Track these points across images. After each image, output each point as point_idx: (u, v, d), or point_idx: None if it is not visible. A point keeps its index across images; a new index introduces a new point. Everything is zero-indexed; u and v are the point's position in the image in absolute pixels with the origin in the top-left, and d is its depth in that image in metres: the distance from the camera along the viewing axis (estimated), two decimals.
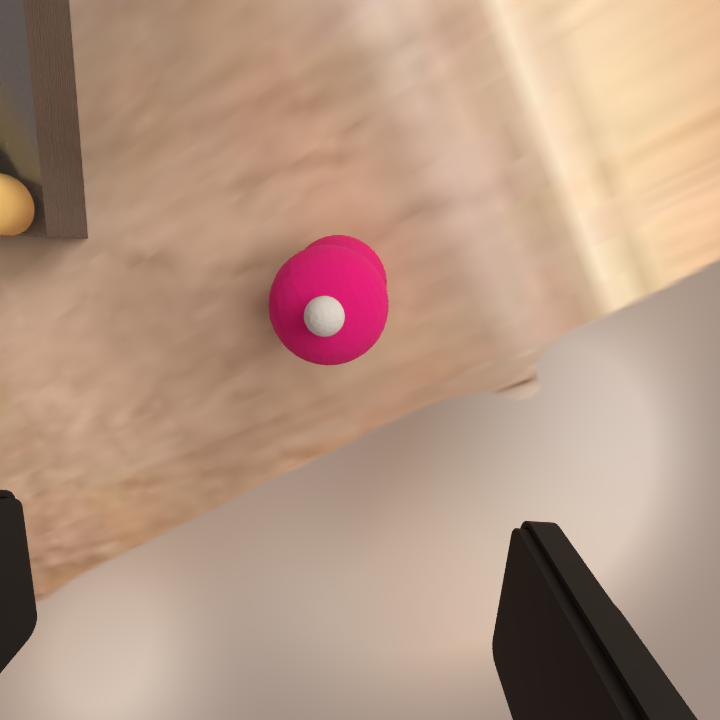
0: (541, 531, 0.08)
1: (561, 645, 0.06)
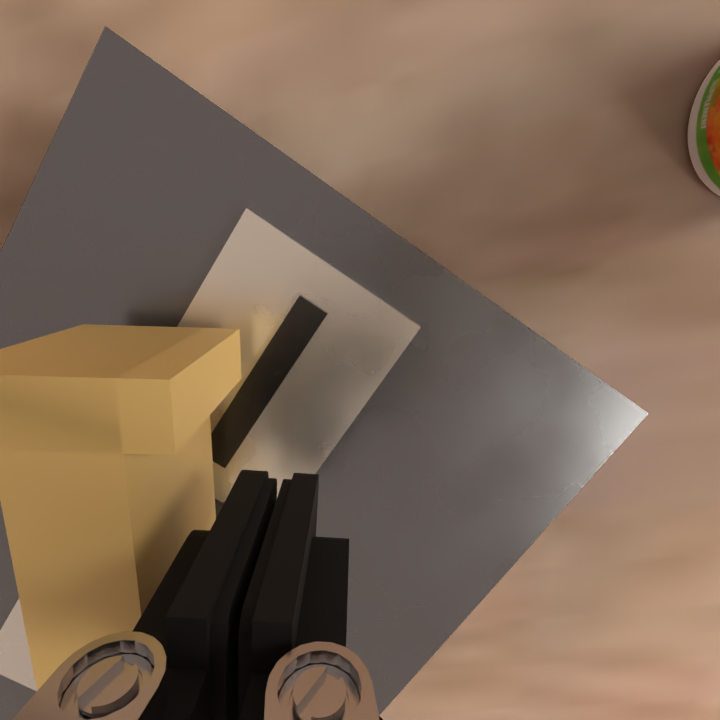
0: (298, 479, 0.09)
1: None
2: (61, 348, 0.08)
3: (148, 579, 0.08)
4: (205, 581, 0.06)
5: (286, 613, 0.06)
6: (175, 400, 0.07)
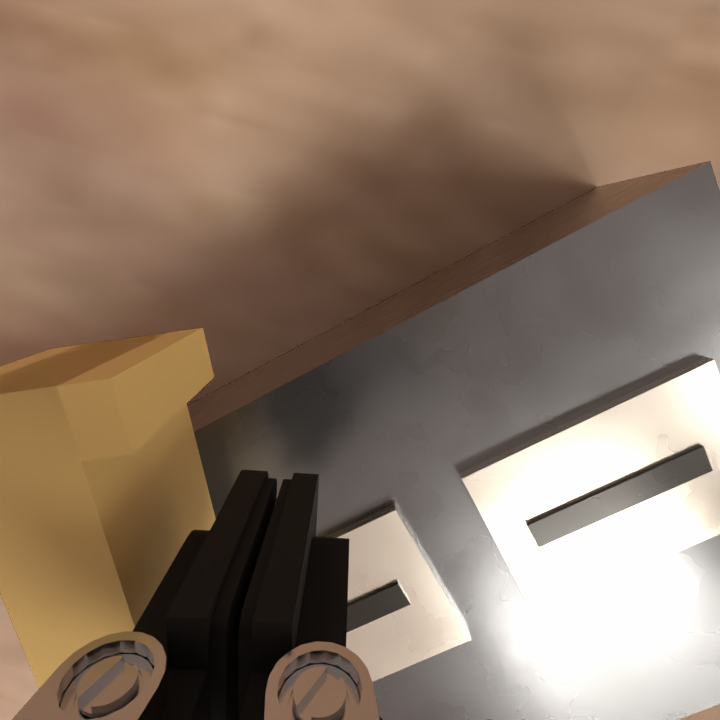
0: (298, 479, 0.09)
1: None
2: (18, 371, 0.08)
3: (136, 586, 0.08)
4: (205, 581, 0.06)
5: (286, 613, 0.06)
6: (122, 398, 0.07)
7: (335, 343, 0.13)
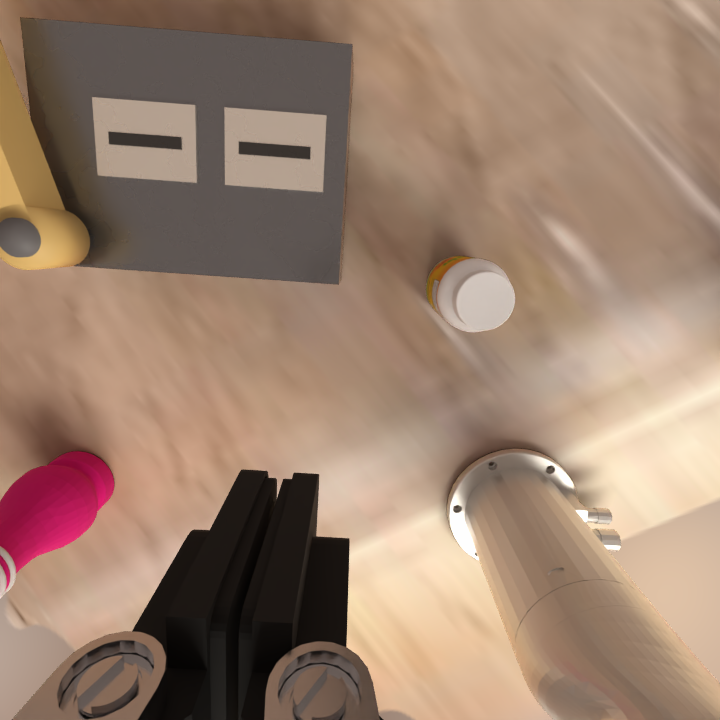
0: (299, 479, 0.09)
1: None
2: None
3: None
4: (204, 581, 0.06)
5: (286, 613, 0.06)
6: None
7: None
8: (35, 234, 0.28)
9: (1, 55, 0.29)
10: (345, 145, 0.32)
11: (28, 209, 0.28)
